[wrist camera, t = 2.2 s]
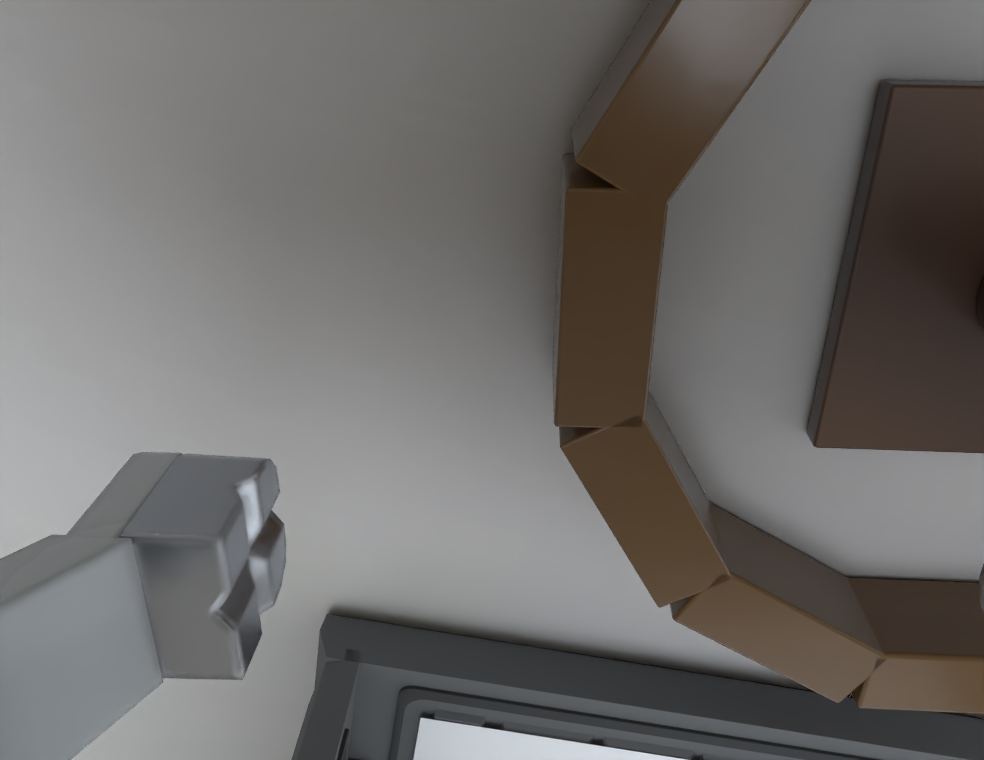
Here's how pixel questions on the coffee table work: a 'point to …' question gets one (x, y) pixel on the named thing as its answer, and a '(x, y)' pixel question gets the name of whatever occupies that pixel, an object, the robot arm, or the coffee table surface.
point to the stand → (911, 281)
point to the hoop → (641, 427)
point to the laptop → (581, 708)
